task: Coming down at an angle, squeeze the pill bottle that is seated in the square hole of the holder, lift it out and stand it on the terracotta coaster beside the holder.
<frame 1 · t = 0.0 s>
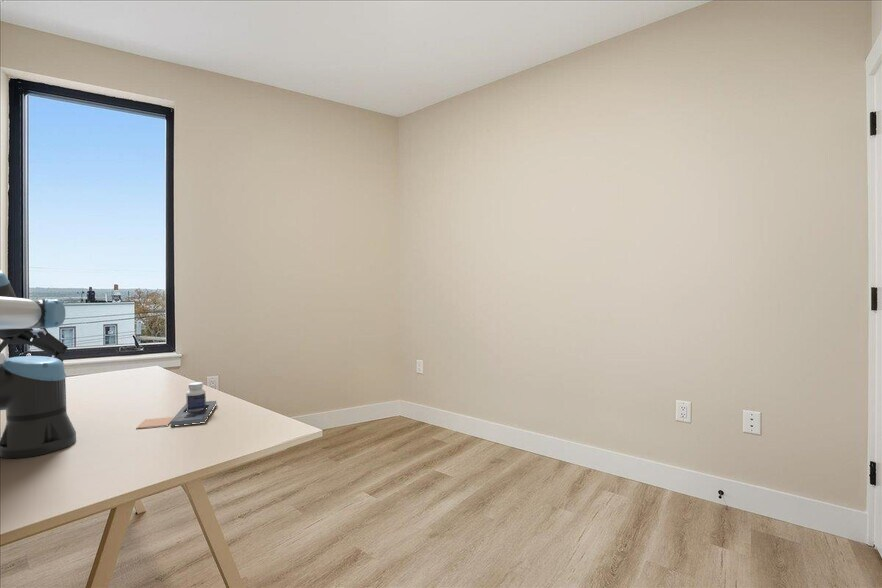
hand: (35, 370, 141), 15 cm above the table, tool tilted 35°, fingers open, 13 cm apart
holder: (195, 415, 144), on the table
pill bottle: (196, 414, 146), resting in holder
coaster: (156, 423, 137), on the table
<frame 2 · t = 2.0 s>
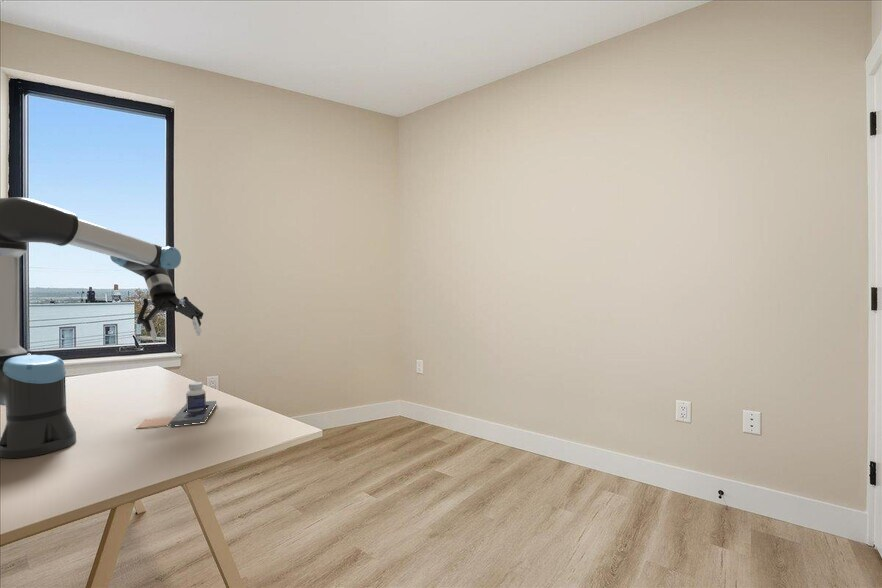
hand: (177, 335, 153), 24 cm above the table, tool tilted 45°, fingers open, 13 cm apart
nothing on the table moved.
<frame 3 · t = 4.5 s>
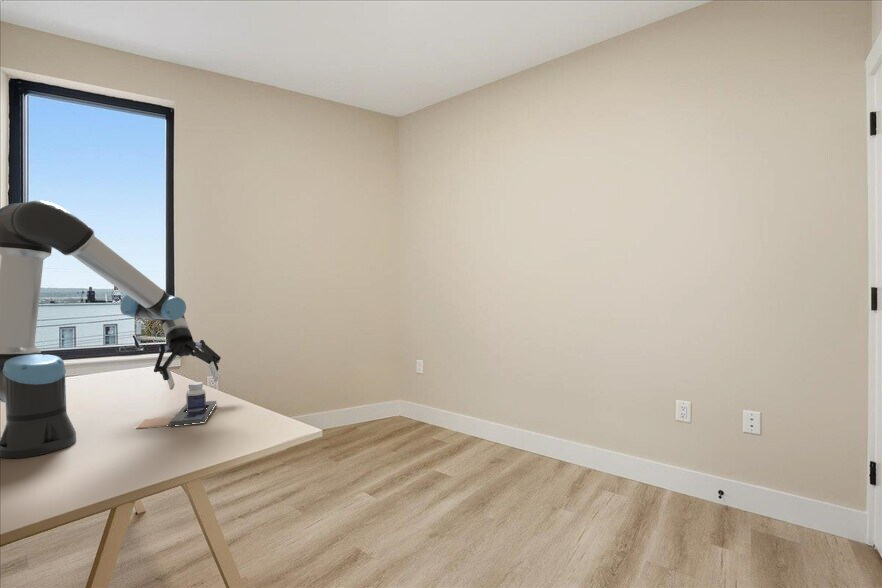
hand: (195, 383, 150), 9 cm above the table, tool tilted 45°, fingers open, 13 cm apart
nothing on the table moved.
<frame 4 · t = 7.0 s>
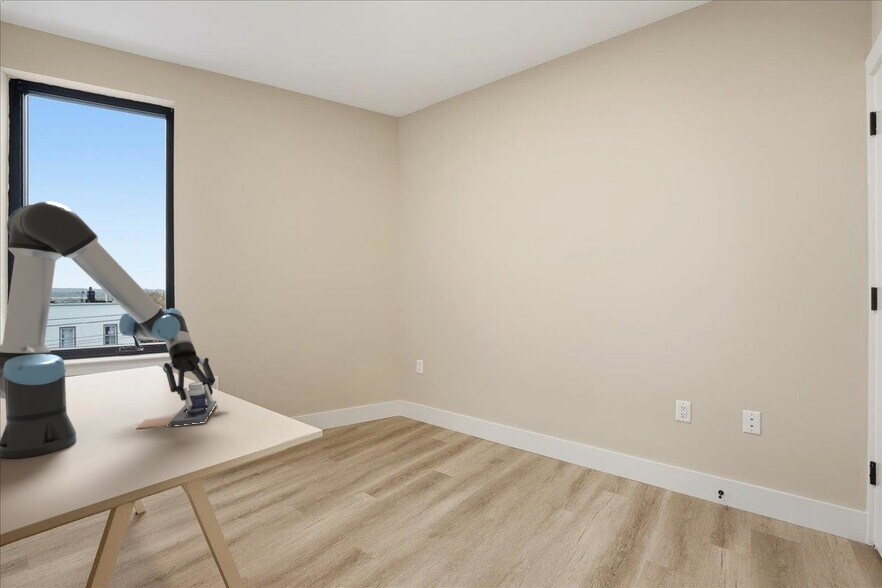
hand: (200, 405, 143), 3 cm above the table, tool tilted 45°, fingers closed on pill bottle, 5 cm apart
pill bottle: (196, 414, 146), resting in holder, touching gripper
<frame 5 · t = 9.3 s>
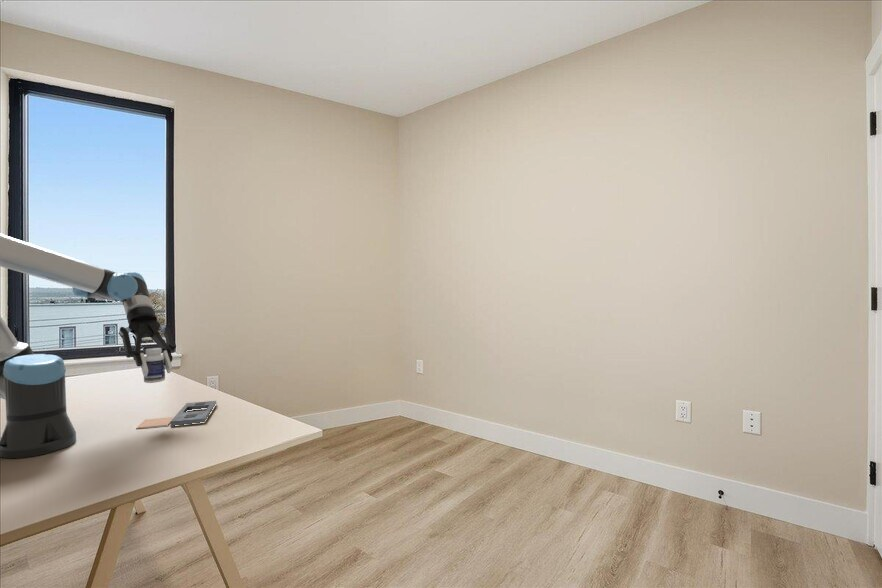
hand: (158, 371, 133), 16 cm above the table, tool tilted 45°, fingers closed on pill bottle, 5 cm apart
pill bottle: (154, 381, 136), point 13 cm above the table, touching gripper
when the fingers open (5 cm above the table, at t = 11.6 s): pill bottle drops 1 cm, resting on coaster.
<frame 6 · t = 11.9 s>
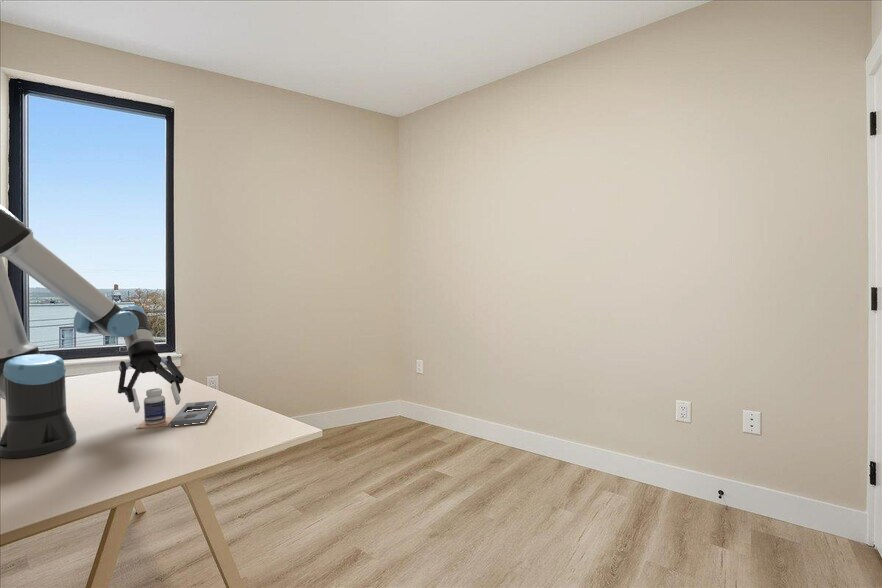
hand: (158, 406, 134), 6 cm above the table, tool tilted 45°, fingers open, 10 cm apart
pill bottle: (155, 422, 136), resting on coaster
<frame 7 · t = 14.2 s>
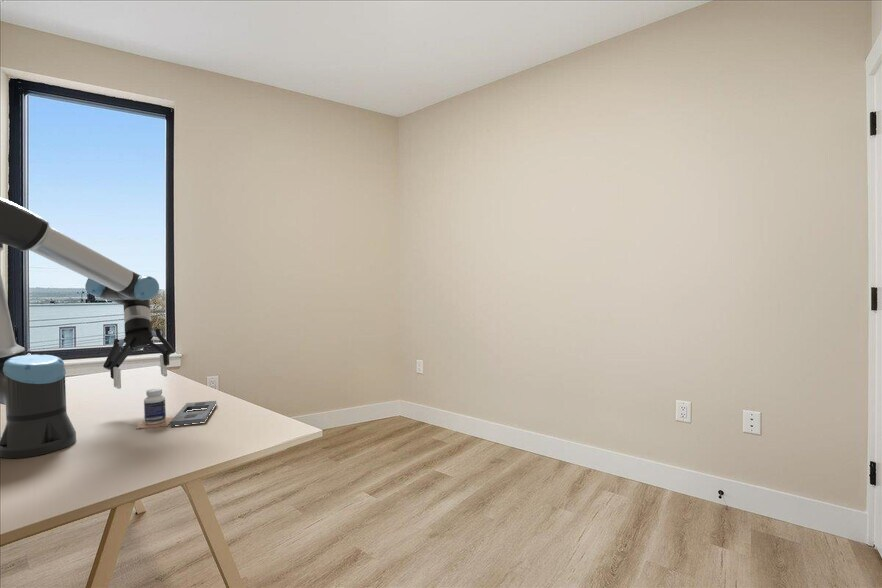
hand: (141, 381, 145), 11 cm above the table, tool tilted 35°, fingers open, 13 cm apart
nothing on the table moved.
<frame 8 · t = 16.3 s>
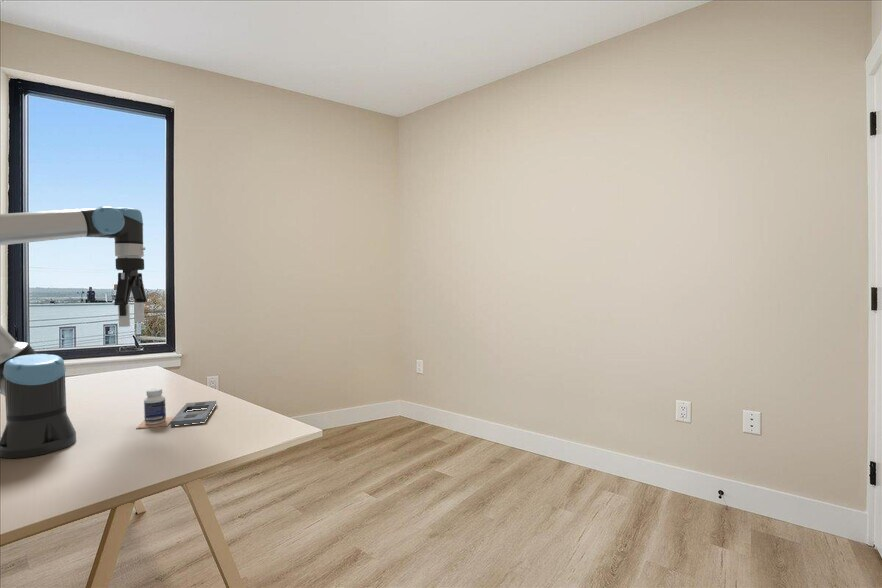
hand: (132, 324, 146), 29 cm above the table, tool pointing down, fingers open, 13 cm apart
nothing on the table moved.
at the end: pill bottle inside the target area (0.2 cm from its centre), resting on coaster; pill bottle tilted 0°; the gripper is holding nothing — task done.
